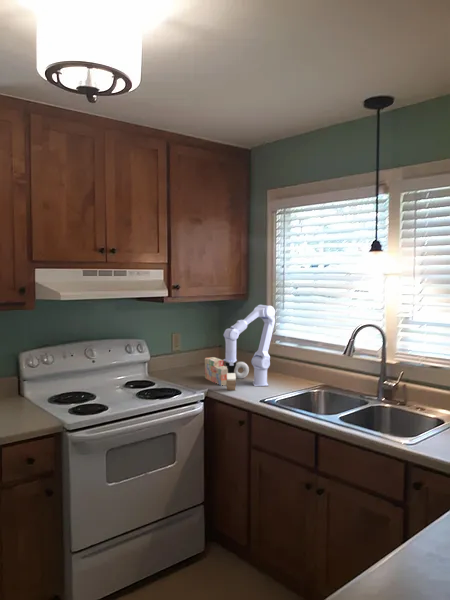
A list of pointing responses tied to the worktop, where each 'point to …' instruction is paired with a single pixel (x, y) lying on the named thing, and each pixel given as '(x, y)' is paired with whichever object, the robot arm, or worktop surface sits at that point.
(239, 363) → the donut
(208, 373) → the stack of blocks
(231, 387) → the walnut block
